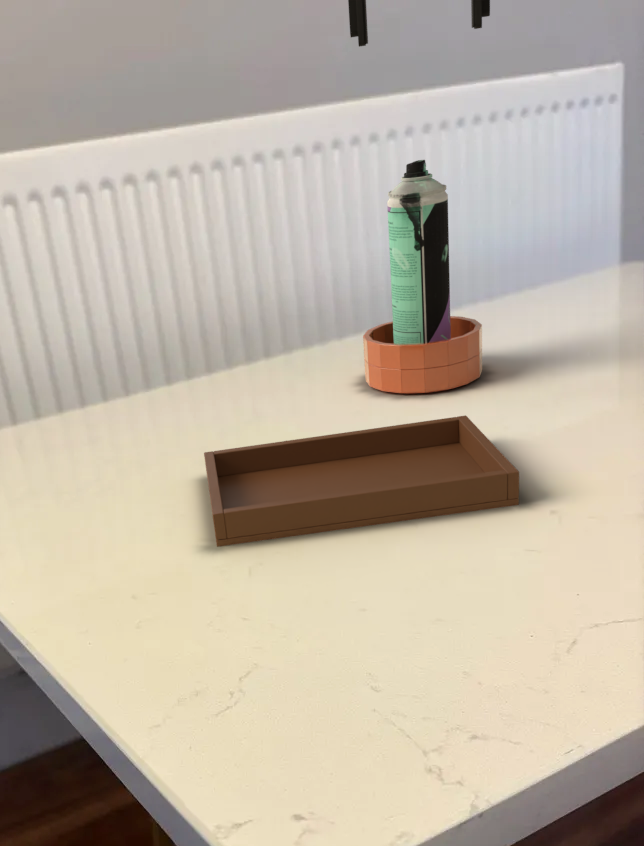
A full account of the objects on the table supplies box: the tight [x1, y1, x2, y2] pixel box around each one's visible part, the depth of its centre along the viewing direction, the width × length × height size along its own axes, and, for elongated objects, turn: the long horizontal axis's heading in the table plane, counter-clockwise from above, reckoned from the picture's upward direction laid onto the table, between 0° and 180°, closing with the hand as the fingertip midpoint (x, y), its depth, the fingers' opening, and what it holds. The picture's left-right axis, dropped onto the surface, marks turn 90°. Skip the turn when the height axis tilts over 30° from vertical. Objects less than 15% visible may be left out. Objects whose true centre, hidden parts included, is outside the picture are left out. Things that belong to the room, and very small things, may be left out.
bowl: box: [362, 315, 483, 395], centre depth 102 cm, size 11×11×5 cm
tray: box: [203, 415, 520, 547], centre depth 78 cm, size 22×14×3 cm, turn 92°
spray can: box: [386, 159, 451, 344], centre depth 98 cm, size 6×6×20 cm
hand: (419, 37), depth 89 cm, fingers open, 9 cm apart
